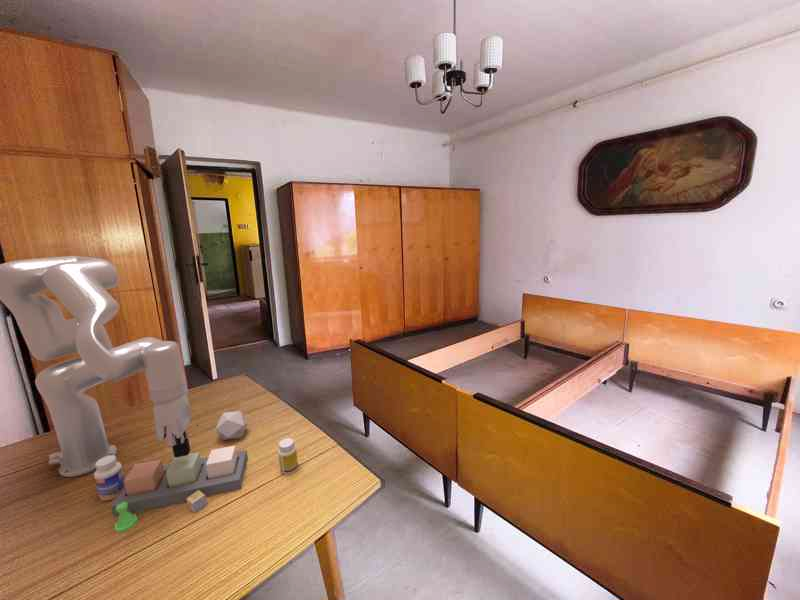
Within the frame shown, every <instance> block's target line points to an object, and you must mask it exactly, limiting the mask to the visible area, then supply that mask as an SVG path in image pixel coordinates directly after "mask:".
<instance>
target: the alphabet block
mask: <svg viewBox="0 0 800 600" xmlns="http://www.w3.org/2000/svg"><path fill="white" fill-rule="evenodd" d="M186 503H187V506H188V509H190V510H191V511H192V512H193V513H194V514H196V513H198V512H199V511H200V510H202V509H203V508H205V507H206V506H207V505H208V501H207V497H206V496H205V495H204V494H203V493H202V492H200V491H199V490H198V491H196V492H195V493H194V494H192V495H191V496H189V497H188V498H187V501H186Z"/></svg>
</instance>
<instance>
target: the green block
mask: <svg viewBox="0 0 800 600" xmlns="http://www.w3.org/2000/svg"><path fill="white" fill-rule="evenodd" d="M200 453H201V452H194V453H189V454H188V455H187V456H182V457H177V458H176V457H173V458H172V460H171V463H170V466H169V468H168V470H167V472H166V475H167V480H168V485H169V487H174V486H179V485H184V484H189V483H193V482H197V480H198V478H199V475H200V472H201V470H202V463H201V458H202V457H201V454H200Z"/></svg>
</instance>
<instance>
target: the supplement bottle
mask: <svg viewBox="0 0 800 600" xmlns="http://www.w3.org/2000/svg"><path fill="white" fill-rule="evenodd" d="M297 454H298V453H297V446H296V445H295V441H294V439H293V438H290V437H286V438H283V439H282V440H280V441H279V443H278V461H279V469H280V473H282V474H285V475H289V474H292V473H294V472H295V471H296V470H297V469H298V467H299V463H298V455H297Z"/></svg>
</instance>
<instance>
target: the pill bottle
mask: <svg viewBox="0 0 800 600" xmlns="http://www.w3.org/2000/svg"><path fill="white" fill-rule="evenodd" d="M95 465H96V470H94V473H93V477H94V481H95V485H96V489H97V493H98V497H99V499H100V500H101V501H108V500H112V499H116V498H117V497H118V495H119V494H120V492H121V491H122V489H123V488H124V486H125V485H124V480H125V478H126V477H125V473H124V470H123V466H122V463H121V462H119V461H118V459H117V455H116V456H114V455H111V456H106V457H104V458H102V459H100V460H98V461H97V462H96V464H95Z"/></svg>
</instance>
